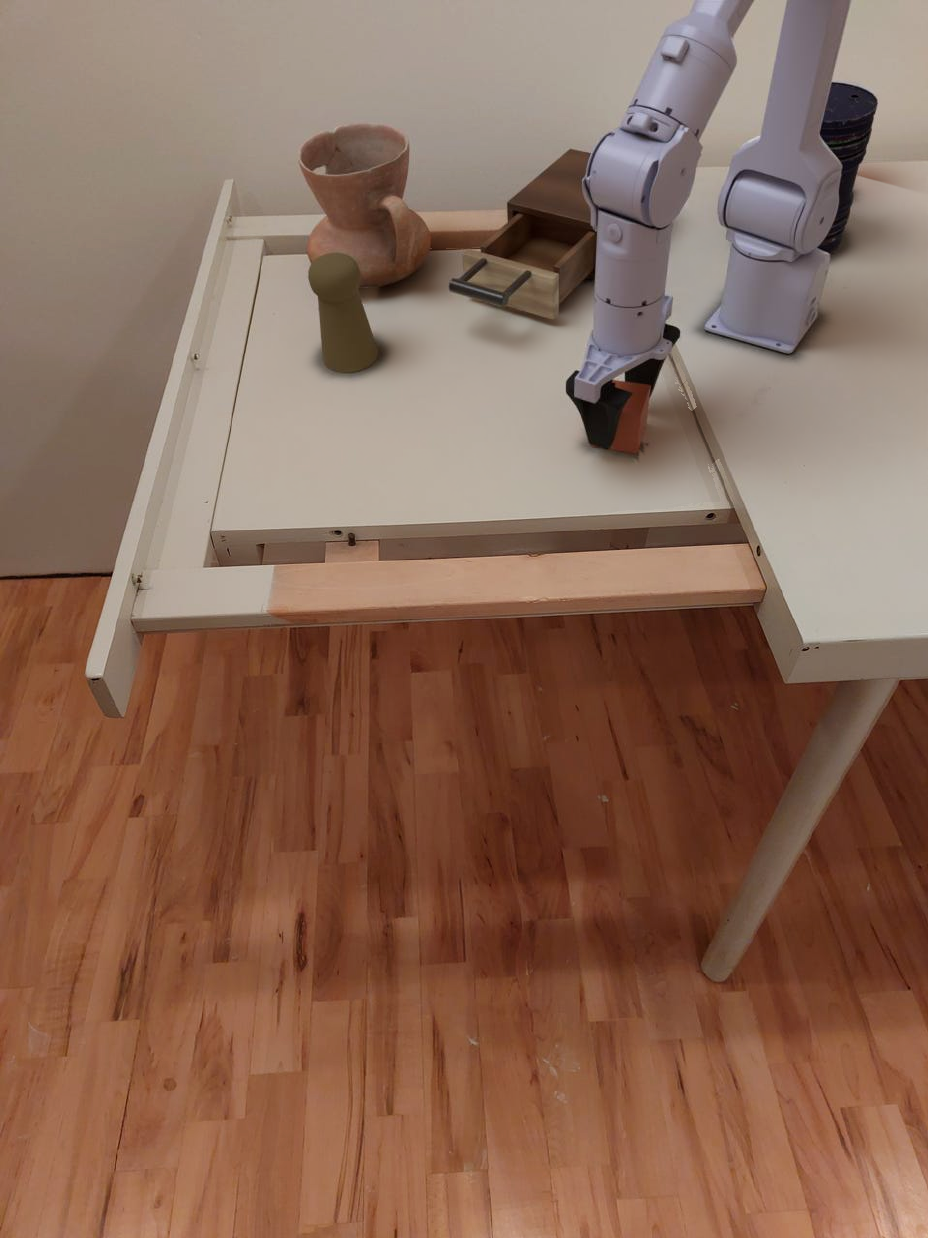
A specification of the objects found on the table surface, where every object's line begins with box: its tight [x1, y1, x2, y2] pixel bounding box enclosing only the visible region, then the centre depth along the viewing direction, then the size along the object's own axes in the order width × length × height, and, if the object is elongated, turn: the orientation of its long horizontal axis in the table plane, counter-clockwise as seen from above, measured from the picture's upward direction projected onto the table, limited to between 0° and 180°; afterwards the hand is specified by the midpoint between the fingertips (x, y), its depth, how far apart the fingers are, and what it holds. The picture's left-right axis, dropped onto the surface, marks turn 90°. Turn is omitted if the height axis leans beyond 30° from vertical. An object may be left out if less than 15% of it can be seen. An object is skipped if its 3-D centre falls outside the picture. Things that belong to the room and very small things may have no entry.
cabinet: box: [506, 148, 596, 281], centre depth 105 cm, size 15×13×7 cm
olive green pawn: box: [307, 253, 379, 374], centre depth 92 cm, size 6×6×11 cm
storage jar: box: [817, 82, 879, 255], centre depth 99 cm, size 10×10×15 cm
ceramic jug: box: [297, 122, 432, 289], centre depth 102 cm, size 18×14×14 cm
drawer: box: [448, 212, 597, 320], centre depth 98 cm, size 20×11×5 cm, turn 146°
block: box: [589, 379, 651, 454], centre depth 84 cm, size 4×4×4 cm
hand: (619, 421), depth 84 cm, fingers open, 7 cm apart
